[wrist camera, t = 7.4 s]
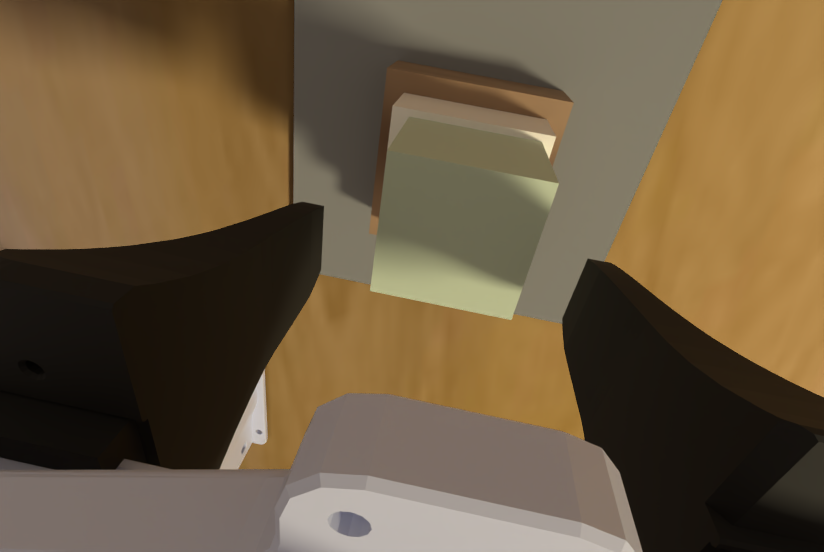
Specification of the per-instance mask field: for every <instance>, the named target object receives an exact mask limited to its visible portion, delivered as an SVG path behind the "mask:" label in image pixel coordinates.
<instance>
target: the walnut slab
mask: <svg viewBox="0 0 824 552" xmlns="http://www.w3.org/2000/svg"><path fill="white" fill-rule="evenodd" d="M403 93H408V94H414V95H419V96H424V97H430V98H435V99H440V100H446V101H451V102H456V103H462V104H467V105H472V106H478V107H483V108H488V109H494V110H499V111H504V112H509V113H515V114H520V115H525V116H531V117H536V118H541V119H547V120H548V122H549V124H550V126H551V128H552V130H553V132H554V133H555V135H556V139H555V142H554V145H553V148H552V151H551V154H550V157H549V160H550V163H551V165H552V167H553V164H554V161H555V158H556V155H557V152H558V149H559V146H560V143H561V140H562V137H563V134H564V131H565V128H566V125H567V122H568V119H569V116H570V112H571V109H572V106H573V103H574V102H573V101H572V100H571V99H570V98H569V97H568V96H567V94H566V93H565V92H564V91H560V90H555V89H550V88H544V87H539V86H534V85H528V84H523V83H517V82H512V81H507V80H501V79H496V78H490V77H485V76H480V75H474V74H469V73H464V72H458V71H453V70H447V69H442V68H437V67H431V66H426V65H421V64H415V63H410V62H404V61H399V60H398V61H396V62H395V63H393V64H392V65H391V66H389V67H388V68H387V73H386V83H385V92H384V101H383V110H382V119H381V128H380V137H379V147H378V156H377V165H376V174H375V183H374V192H373V201H372V210H371V220H370V229H369V234H374V235H377V230H378V222H379V213H380V205H381V197H382V189H383V180H384V172H385V164H386V156H387V148H388V139H389V131H390V123H391V115H392V106H393V105H394V103H395V102H396V101H397V100H398V99H399V98H400V97H401V96H402V94H403Z"/></svg>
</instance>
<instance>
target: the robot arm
mask: <svg viewBox="0 0 824 552" xmlns="http://www.w3.org/2000/svg"><path fill="white" fill-rule="evenodd" d="M323 219H324V206H322V205H317V204H312V203H307V202H298V203H294V204H291V205H288V206H285V207H282V208H280V209H277V210H274V211H271V212H269V213H266V214H263V215H260V216H258V217H255V218H252V219H249V220H246V221H243V222H240V223H237V224H234V225H230V226H227V227H224V228H221V229H218V230H214V231H210V232H206V233H202V234H198V235H193V236H189V237H184V238H179V239H174V240H167V241H160V242H153V243H146V244H139V245H131V246H121V247H109V248H92V249H67V250H20V249H4V250H1V251H0V552H824V397H821V396H819V395H817V394H815V393H812V392H810V391H808V390H806V389H804V388H802V387H800V386H798V385H796V384H794V383H792V382H790V381H788V380H786V379H784V378H782V377H780V376H778V375H776V374H774V373H772V372H770V371H768V370H767V369H765V368H763V367H761V366H759V365H757V364H755V363H753V362H752V361H750V360H748V359H746V358H745V357H743V356H741V355H739V354H738V353H736V352H735V351H733V350H731V349H730V348H728V347H726V346H725V345H723V344H722V343H720V342H718V341H717V340H715V339H713V338H712V337H710V336H709V335H707V334H706V333H704V332H703V331H701V330H700V329H699V328H697V327H696V326H694V325H693V324H692V323H690V322H689V321H687V320H686V319H685V318H683V317H682V316H680V315H679V314H678V313H676V312H675V311H674V310H672V309H671V308H670V307H669V306H667V305H666V304H665V303H663V302H662V301H661V300H660V299H658V298H657V297H656V296H655V295H653V294H652V293H651V292H650V291H648V290H647V289H646V288H645V287H643V286H642V285H641V284H640V283H638V282H637V281H636V280H635V279H633V278H632V277H631V276H629V275H628V274H627V273H625V272H624V271H623V270H621V269H620V268H618V267H617V266H615V265H613V264H612V263H608V262H603V261H598V260H593V259H587V261H586V264H585V266H584V268H583V271H582V273H581V275H580V278H579V280H578V282H577V285H576V287H575V290H574V292H573V294H572V297H571V299H570V301H569V304H568V306H567V308H566V311H565V313H564V315H563V318H562V326H563V341H564V350H565V355H566V359H567V363H568V368H569V372H570V376H571V380H572V384H573V388H574V392H575V396H576V400H577V404H578V408H579V412H580V417H581V421H582V426H583V431H584V437H585V441H584V440H582V439H579V438H577V437H575V436H572V435H570V434H568V433H565V432H563V431H559V430H555V429H550V428H545V427H540V426H536V425H531V424H526V423H522V422H517V421H512V420H508V419H503V418H498V417H494V416H489V415H484V414H480V413H475V412H470V411H465V410H461V409H456V408H451V407H447V406H442V405H437V404H433V403H428V402H423V401H419V400H414V399H409V398H404V397H400V396H395V395H390V394H366V393H348V394H345V395H343V396H341V397H339V398H336V399H334V400H332V401H330V402H328V403H325V404H323V405H321V406H319V407H317V409H316V412H315V414H314V416H313V418H312V420H311V422H310V424H309V426H308V428H307V430H306V433H305V435H304V438H303V440H302V442H301V445H300V447H299V450H298V452H297V455H296V457H295V459H294V462H293V464H292V467H291V469H238V468H239V467H240V465H241V463H242V461H243V459H244V457H245V455H246V453H247V451H248V449H249V448H250V446H251V444H252V443H257V444H265V443H266V441H267V438H268V435H267V412H266V389H265V367H266V365H267V364H268V362H269V360H270V358H271V357H272V355H273V353H274V352H275V350H276V349H277V347H278V345H279V344H280V342H281V341H282V339H283V338H284V336H285V335H286V333H287V331H288V330H289V328H290V327H291V325H292V324H293V322H294V320H295V319H296V317H297V316H298V314H299V313H300V311H301V309H302V308H303V306H304V305H305V303H306V301H307V300H308V298H309V296H310V294H311V292H312V290H313V288H314V285H315V283H316V281H317V278H318V276H319V274H320V271H321V263H322V241H323Z"/></svg>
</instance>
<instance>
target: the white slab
mask: <svg viewBox="0 0 824 552" xmlns="http://www.w3.org/2000/svg"><path fill="white" fill-rule="evenodd" d="M409 117H415V118H420V119H425V120H430V121H436V122H441V123H446V124H451V125H456V126H462V127H467V128H472V129H477V130H483V131H488V132H493V133H498V134H504V135H509V136H514V137H519V138H524V139H530V140H535V141H540V142H542V143H543V146H544V148H545V151H546V153H547V155H548V158H549V157H550V154H551V151H552V148H553V145H554V142H555V139H556V135H555V133H554V132H553V130H552V128H551V126H550V124H549V122H548V120H547V119H541V118H536V117H531V116H525V115H520V114H515V113H509V112H504V111H499V110H494V109H488V108H483V107H478V106H472V105H467V104H462V103H456V102H451V101H446V100H440V99H435V98H430V97H424V96H419V95H414V94H408V93H403V94H402V96H401V97H400V98H399V99H398V100H397V101H396V102H395V103H394V105H393V106H392V115H391V123H390V131H389V139H388V148H389V147H390V145H391V144H392V142H393V140H394V139H395V137H396V136H397V134H398V133H399V131H400V130H401V128H402V127H403V125H404V124H405V122H406V121H407V119H408V118H409ZM388 148H387V150H388Z"/></svg>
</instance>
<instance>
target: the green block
mask: <svg viewBox="0 0 824 552" xmlns="http://www.w3.org/2000/svg"><path fill="white" fill-rule="evenodd" d="M558 185H559V182H558V180H557V177H556V175H555V172H554V170H553V167H552V165H551V163H550V160H549V158H548V155H547V153H546V151H545V148H544V146H543V143H542V142H540V141H535V140H530V139H524V138H519V137H514V136H509V135H504V134H498V133H493V132H488V131H483V130H477V129H472V128H467V127H462V126H456V125H451V124H446V123H441V122H436V121H430V120H425V119H420V118H415V117H409V118H408V119H407V121H406V122H405V124H404V125H403V127H402V128H401V130H400V131H399V133H398V134H397V136H396V137H395V139H394V140H393V142H392V144H391V145H390V147H389V148H388V150H387V156H386V164H385V172H384V180H383V189H382V197H381V205H380V213H379V222H378V230H377V238H376V246H375V255H374V263H373V271H372V279H371V287H370V291H373V292H378V293H383V294H388V295H393V296H398V297H402V298H407V299H412V300H417V301H422V302H427V303H431V304H436V305H441V306H446V307H451V308H456V309H461V310H465V311H470V312H475V313H480V314H485V315H490V316H495V317H499V318H504V319H509V320H512V317H513V314H514V311H515V308H516V306H517V303H518V300H519V297H520V294H521V291H522V288H523V286H524V283H525V280H526V277H527V274H528V271H529V268H530V265H531V263H532V260H533V257H534V254H535V251H536V248H537V245H538V243H539V240H540V237H541V234H542V231H543V228H544V225H545V223H546V220H547V217H548V214H549V211H550V208H551V205H552V203H553V200H554V197H555V194H556V191H557V188H558Z"/></svg>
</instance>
